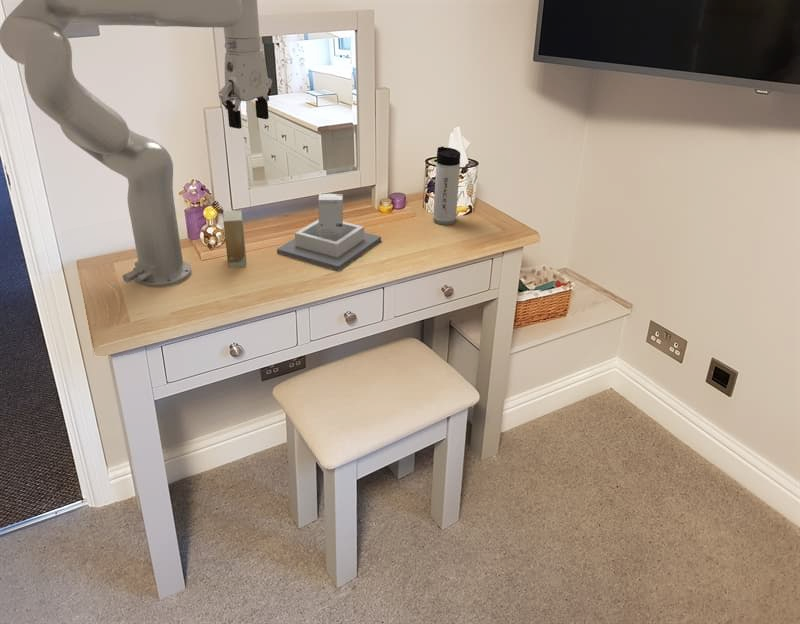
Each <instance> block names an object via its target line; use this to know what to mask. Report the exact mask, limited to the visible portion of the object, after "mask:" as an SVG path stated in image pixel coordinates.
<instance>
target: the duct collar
mask: <svg viewBox="0 0 800 624" xmlns="http://www.w3.org/2000/svg"><path fill="white" fill-rule="evenodd" d="M381 241H382V236H380V235H376V234H373V233H368V232H365V226H362V225H358V224H354V223H350V222H347V221H343V237H342V238H340V239H339V240H337V241H332V240H328V239H324V238H321V237H319V218H317V220H315V221H313V222H312V223H310V224H308V225H305V226H304V227H302V228H300V229H299V230H298V231H295V232H294V239H291V240H290V241H288V242H287V243H284V244H283V245H281V246H279V247H278V248H276V253H277V255H280V256H285V257H288V258H292V259H294V260H299V261H302V262H306V263H308V264H309V263H310V264H314V265H317V266H320V267H323V268H326V269H327V268H328V269H330V268H331V270H334V269H335V270H334V271H337V270H339V271H341V270H342V269H344V268H345V267H346V266H348V265H349V264H351V263H352V262H353V261H355V260H356V259H358V258H359V257H361V256H362V255H363V254H365V253H366V252H368V251H369V250H370V249H372V248H373V247H375V246H376V245H377V244H379V243H380V242H381ZM340 269H341V270H340Z"/></svg>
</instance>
